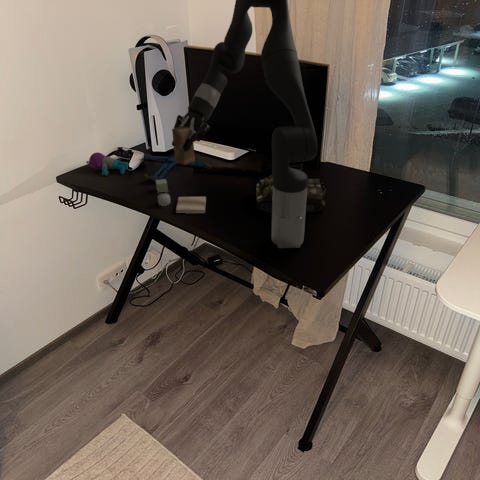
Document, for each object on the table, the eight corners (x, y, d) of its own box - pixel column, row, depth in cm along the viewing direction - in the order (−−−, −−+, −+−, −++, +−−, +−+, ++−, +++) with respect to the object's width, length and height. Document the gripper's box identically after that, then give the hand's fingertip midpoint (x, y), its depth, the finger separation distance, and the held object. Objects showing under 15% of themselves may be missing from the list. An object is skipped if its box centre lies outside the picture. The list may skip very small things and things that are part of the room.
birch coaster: (204, 213, 144) (204, 209, 143) (176, 213, 144) (176, 210, 143) (206, 199, 152) (205, 196, 151) (179, 200, 152) (178, 197, 151)
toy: (132, 170, 178) (96, 160, 180) (132, 154, 174) (96, 144, 176) (118, 183, 168) (80, 173, 170) (118, 167, 164) (79, 157, 166)
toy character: (113, 168, 165) (149, 144, 184) (115, 179, 168) (150, 154, 186) (187, 180, 156) (216, 153, 175) (188, 192, 158) (217, 164, 177)
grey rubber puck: (170, 207, 148) (169, 199, 146) (157, 207, 148) (156, 199, 146) (171, 201, 151) (170, 193, 150) (159, 201, 151) (158, 193, 150)
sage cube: (168, 192, 157) (167, 183, 155) (158, 193, 156) (156, 184, 154) (166, 187, 160) (165, 178, 158) (156, 189, 159) (155, 180, 157)
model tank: (256, 194, 155) (256, 152, 147) (321, 194, 154) (325, 152, 146) (256, 213, 144) (256, 169, 136) (326, 213, 143) (331, 169, 135)
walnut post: (194, 160, 150) (192, 128, 144) (184, 165, 147) (181, 132, 141) (185, 157, 152) (182, 125, 146) (175, 161, 150) (172, 129, 144)
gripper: (182, 91, 147) (157, 137, 147) (213, 99, 139) (187, 148, 138) (196, 104, 154) (172, 148, 153) (226, 112, 145) (201, 159, 144)
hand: (179, 148), depth 146 cm, fingers closed on walnut post, 4 cm apart
